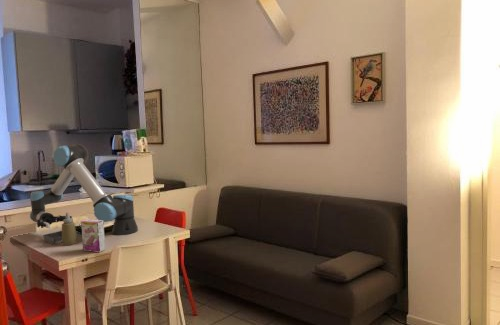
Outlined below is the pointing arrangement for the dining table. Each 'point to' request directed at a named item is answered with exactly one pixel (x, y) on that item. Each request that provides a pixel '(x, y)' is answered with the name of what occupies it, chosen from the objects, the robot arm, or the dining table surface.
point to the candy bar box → (93, 235)
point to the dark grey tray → (53, 237)
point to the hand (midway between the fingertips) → (60, 223)
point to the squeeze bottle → (68, 231)
